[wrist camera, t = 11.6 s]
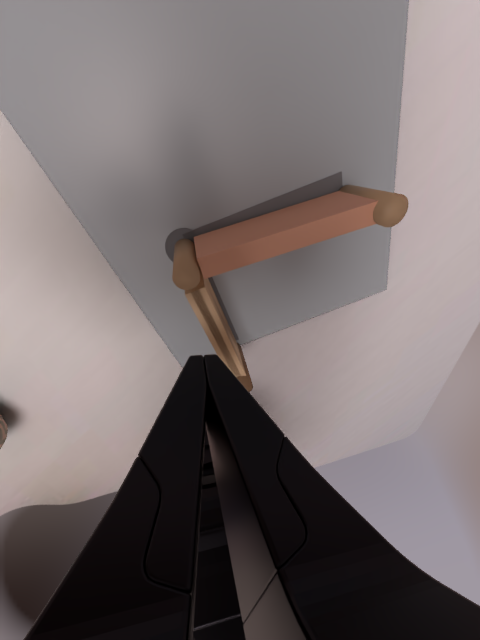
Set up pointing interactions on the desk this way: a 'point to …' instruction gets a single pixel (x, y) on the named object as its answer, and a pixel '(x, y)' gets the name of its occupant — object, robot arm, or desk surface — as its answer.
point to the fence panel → (284, 232)
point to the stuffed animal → (2, 431)
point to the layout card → (211, 138)
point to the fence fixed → (218, 329)
